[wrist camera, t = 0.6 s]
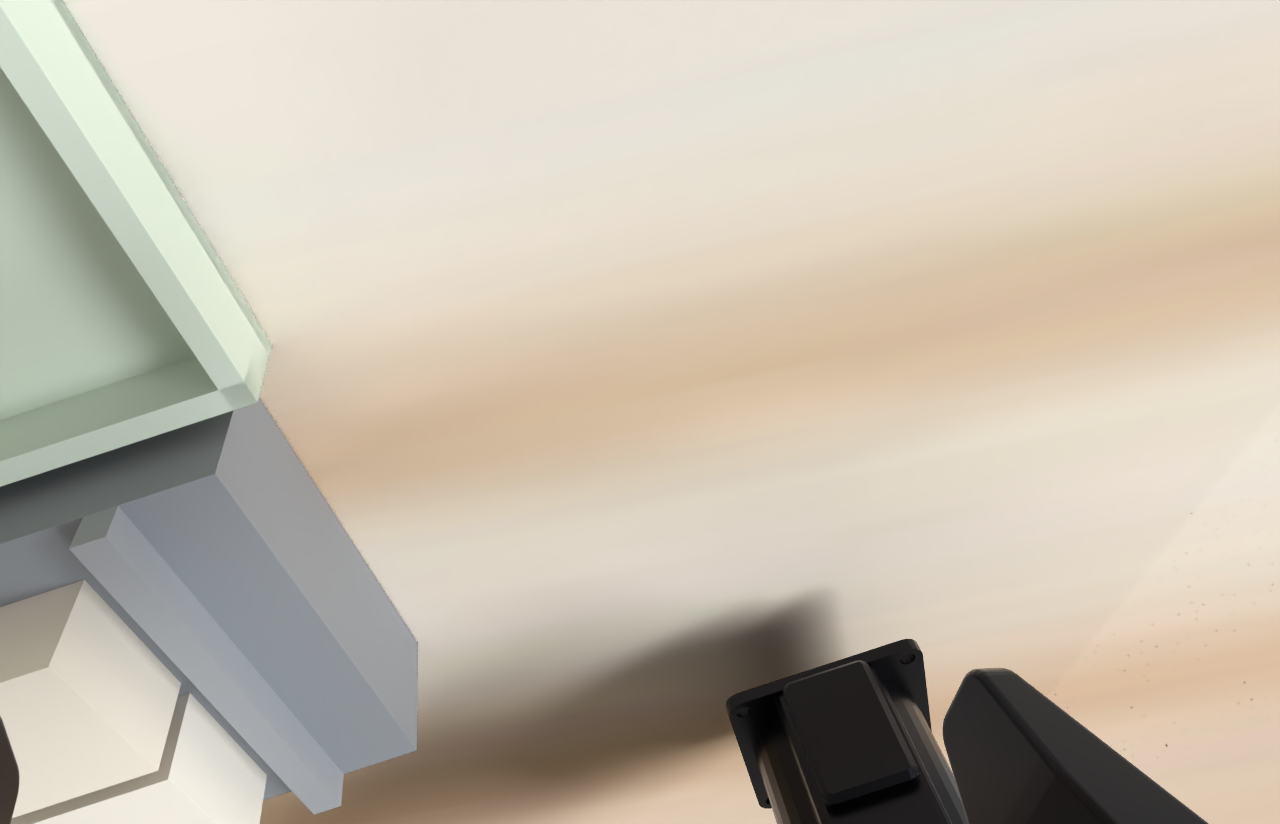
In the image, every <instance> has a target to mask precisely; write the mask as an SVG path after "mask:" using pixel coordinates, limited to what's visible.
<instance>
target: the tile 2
mask: <svg viewBox="0 0 1280 824" xmlns="http://www.w3.org/2000/svg"><path fill="white" fill-rule="evenodd" d="M266 779H267V775H266V774H265V773H264V771H263V770H262V769H261V768H260V767H259V766H258V765H257V764H256V763H255V762H254V761H253V760H252V759H251V758H250V756H249V755H248V754H247V753H246V752H245V751H244V750H243V749H242V748H241V747H240V746H239V745H238V744H237V743H236V742H235V740H234V739H233V738H232V737H231V736H230V735H229V734H228V733H227V732H226V731H225V730H224V729H223V728H222V727H221V725H220V724H219V723H218V722H217V721H216V720H215V719H214V718H213V717H212V716H211V715H210V714H209V713H208V712H207V710H206V709H205V708H204V707H203V706H202V705H201V704H200V703H199V702H198V701H197V700H196V699H195V698H194V697H193V695H192V694H191V693H187V694H184V695H181V696H178V697H177V701H176V705H175V709H174V712H173V716H172V720H171V724H170V728H169V731H168V735H167V739H166V743H165V747H164V750H163V754H162V758H161V762H160V766H159V769H158V771H155V772H152V773H149V774H146V775H143V776H140V777H137V778H134V779H131V780H128V781H125V782H122V783H119V784H116V785H113V786H109V787H106V788H103V789H100V790H97V791H94V792H91V793H88V794H85V795H82V796H79V797H76V798H73V799H70V800H67V801H63V802H60V803H57V804H54V805H51V806H48V807H45V808H42V809H39V810H36V811H33V812H30V813H27V814H24V815H21V816H17V817H14V818H12V820H11V823H10V824H260V817H261V811H262V804H263V798H264V791H265V785H266Z"/></svg>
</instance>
